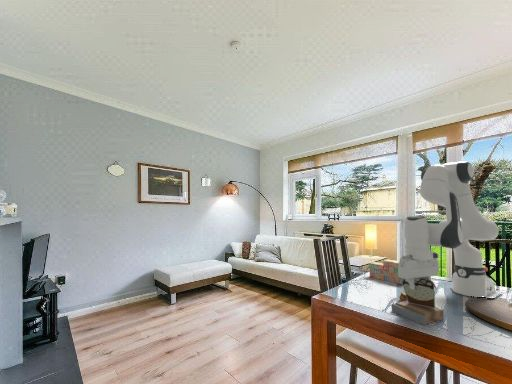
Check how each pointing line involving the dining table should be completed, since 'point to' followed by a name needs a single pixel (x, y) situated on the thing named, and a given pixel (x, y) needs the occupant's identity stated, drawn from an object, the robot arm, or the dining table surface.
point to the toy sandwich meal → (403, 296)
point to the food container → (420, 292)
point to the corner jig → (409, 314)
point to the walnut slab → (424, 311)
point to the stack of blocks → (385, 271)
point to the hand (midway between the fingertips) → (419, 288)
